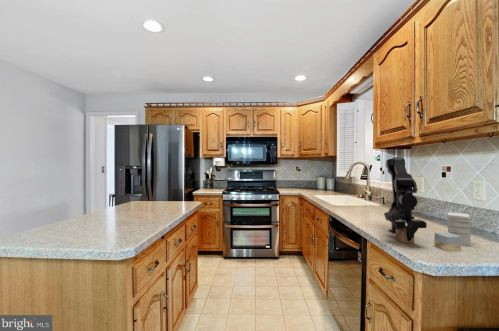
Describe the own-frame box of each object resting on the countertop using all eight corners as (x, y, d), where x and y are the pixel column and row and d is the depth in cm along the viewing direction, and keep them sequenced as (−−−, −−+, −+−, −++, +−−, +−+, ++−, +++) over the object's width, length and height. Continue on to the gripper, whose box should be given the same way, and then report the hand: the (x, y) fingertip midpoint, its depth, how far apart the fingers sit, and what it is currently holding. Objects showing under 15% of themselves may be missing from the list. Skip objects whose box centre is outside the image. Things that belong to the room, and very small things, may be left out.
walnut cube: (395, 239, 111) (395, 228, 111) (406, 239, 111) (406, 228, 111) (403, 243, 106) (403, 231, 106) (414, 242, 106) (414, 231, 106)
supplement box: (447, 239, 111) (447, 211, 111) (469, 242, 106) (469, 213, 106) (448, 243, 105) (447, 214, 105) (470, 246, 101) (470, 216, 101)
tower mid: (434, 239, 102) (434, 232, 102) (448, 239, 102) (448, 232, 102) (447, 244, 96) (446, 237, 96) (461, 244, 96) (461, 236, 96)
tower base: (434, 246, 102) (434, 239, 102) (448, 246, 102) (447, 239, 102) (446, 251, 96) (446, 244, 96) (461, 251, 96) (461, 243, 96)
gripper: (375, 201, 117) (375, 233, 117) (401, 208, 99) (402, 246, 99) (396, 201, 118) (397, 232, 118) (427, 208, 99) (427, 245, 99)
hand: (404, 238), depth 108 cm, fingers closed on walnut cube, 5 cm apart
